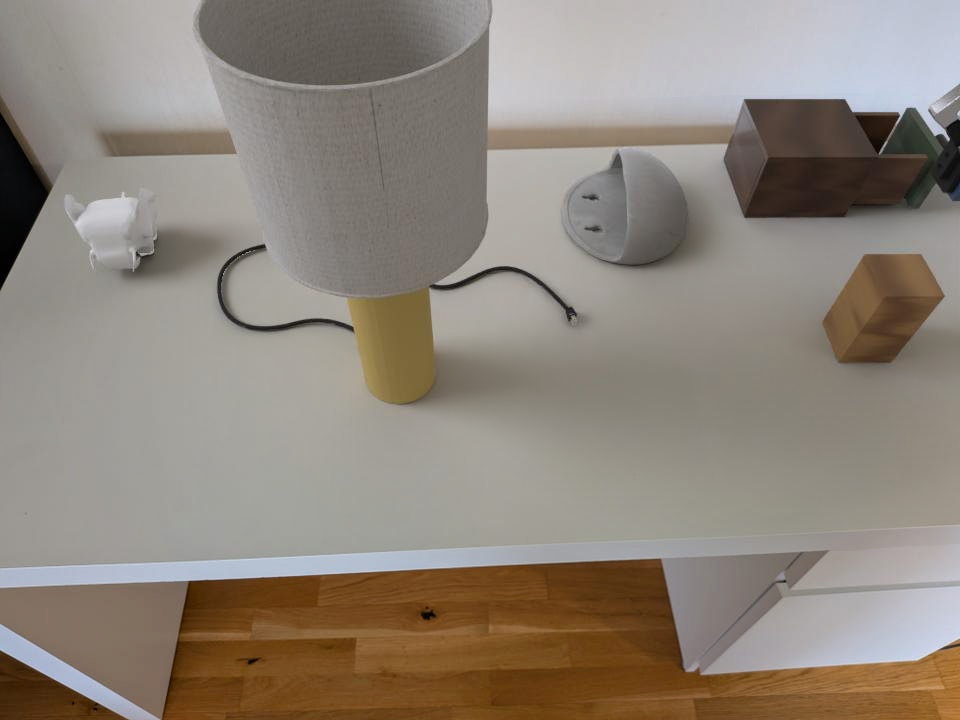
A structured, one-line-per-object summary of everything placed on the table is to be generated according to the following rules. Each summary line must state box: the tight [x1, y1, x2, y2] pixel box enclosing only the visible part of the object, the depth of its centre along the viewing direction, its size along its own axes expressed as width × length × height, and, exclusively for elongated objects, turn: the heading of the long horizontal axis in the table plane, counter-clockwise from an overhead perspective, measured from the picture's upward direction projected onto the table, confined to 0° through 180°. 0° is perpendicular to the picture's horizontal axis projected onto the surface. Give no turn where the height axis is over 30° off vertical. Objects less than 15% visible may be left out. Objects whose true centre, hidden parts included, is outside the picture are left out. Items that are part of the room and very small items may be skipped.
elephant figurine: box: [63, 187, 158, 276], centre depth 82 cm, size 10×12×9 cm
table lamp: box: [192, 0, 578, 405], centre depth 63 cm, size 40×34×40 cm
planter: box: [561, 146, 689, 266], centre depth 88 cm, size 19×7×16 cm
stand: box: [821, 253, 946, 363], centre depth 74 cm, size 6×6×11 cm
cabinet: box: [723, 98, 879, 218], centre depth 91 cm, size 14×13×10 cm
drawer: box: [852, 107, 949, 210], centre depth 91 cm, size 17×11×8 cm
